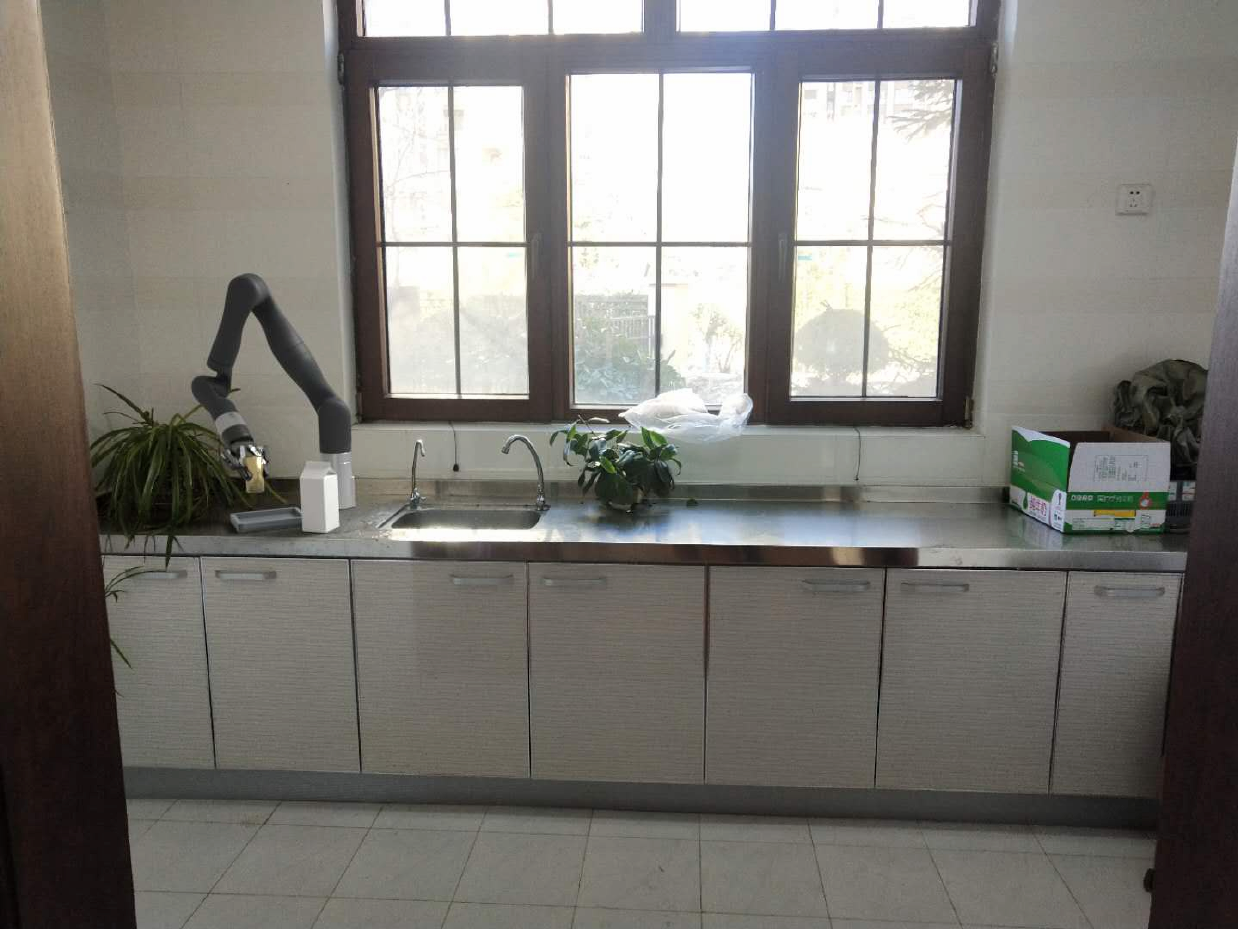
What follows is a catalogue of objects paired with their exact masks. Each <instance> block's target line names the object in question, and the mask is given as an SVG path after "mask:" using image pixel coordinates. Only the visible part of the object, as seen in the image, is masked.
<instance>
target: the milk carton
mask: <svg viewBox="0 0 1238 929" xmlns="http://www.w3.org/2000/svg"><path fill="white" fill-rule="evenodd" d="M301 472H302V473H301V474H300V477H299V489H300V490H299V491H300V510H301V513H302V526H301V528H302V532H308V533H318V534H319V533H320V534H321V533H323V534H327V533H329V532H331V531H333V530H336V529H338V528H339V527H340V513H339V507H338V484H337V474H336V473H335V471H334V470H333V469H332V468H331V467H330V462H320V461H311V460H309V461H308V460H306V461H305V466H304V469H303V470H302V471H301Z"/></svg>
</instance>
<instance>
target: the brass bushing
mask: <svg viewBox="0 0 1238 929" xmlns="http://www.w3.org/2000/svg"><path fill="white" fill-rule="evenodd" d="M260 455H261V454H260ZM260 455H251V456H246V457H245V467H247V468H248V470H249V472H250V474H251V476H252V478H251V480H250V481H246V480H245V484H246V485H245V487H246V493H248V494H257V493H258V494H260V493H264V492H265V482H264V481H265V479H264V476H263V457H262V455H261V456H260Z"/></svg>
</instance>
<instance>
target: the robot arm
mask: <svg viewBox="0 0 1238 929" xmlns="http://www.w3.org/2000/svg"><path fill="white" fill-rule="evenodd" d="M251 313H252V314H253V315H254V316H255V318H256V320H257V321H258V322H259V324H260V326H261V328H262V330H263V333H264V336H265V339H266V342H267V345H268V347H269V349H270V351H271V353H272V355H273V357H274V358H275V359H276V361H277V362H278V363H279V365H280V367H281V368H282V369H283V371H284V372H285V373H286V374H287V376H288V377H289V378H290V379H291V380H292V381H293V383H295V384H296V385H297V387H299V388H300V390H302V392H303V393H304V394H305V396H306V397H307V399H308V400H309V402H310V404H311V406H312V408H313V409H314V411H315V413H316V415H317V419H318V420H317V421H318V448H319V449H318V450H319V462H330V467H331V468H332V469H333V470H334V471H335V473H336V474H337V484H338V507H339V509H340V510H347V509H351V508H355V506H356V486H355V484H356V483H355V482H356V481H355V476H354V475H353V459H352V438H353V437H352V415H351V410H350V408H349V406H348V405H347V403H346V402H345V401H344V400H343V399H342V398H341V397H340V396H339V394H337V392H336V391H335V390H334V389H333V387H331V385H330V384H329V383H328V381H327V380H326V378H325V376H324V374H323V372H322V370H321V368H320V366H319V364H318V363H317V361H316V359H315V357H314V355H313V354H312V352H311V350H310V349H309V347H308V346H307V345H306V343H305V342H304V341H303V339H302V338H301V336H300V334H298V332H297V331H296V329H295V328H294V327H293V325H292V323H291V322H290V321H289V320H288V318H287V317H286V315H285V314H284V313H283V311H282V310H281V308H280V307H279V305H278V303H277V301H276V299H275V297H274V295H273V293H272V291H271V290H270V287H269V286H268V285H267V282H266V281H265V280H264V279H263V278H262V277H260V276H259V275H258V274H255V273H252V272H246V273H243V274H241V275H237V276H235V277H233V278H232V279H231V280H230V281H229V282H228V285H227V289H226V294H225V300H224V308H223V313H222V315H221V316H222V317H221V319H220V320H221V321H220V323H219V326H218V330H217V332H216V334H215V335H216V336H215V338H214V341H213V343H212V346H211V348H210V351H209V355H208V357H207V360H206V366H207V368H209V369H210V370H211V371H213V372H215V373H216V375H215V376H212V375H197V376H195V377H194V378H193V379H192V381H191V384H190V389H191V393H192V395H193V397H194V398H195V400H196V401H197V402H198V403H199V405H200V406H202V407H203V408H204V409H205V411H206V412H208V413H209V415H210V417H211V419H212V420H213V423H214V424H215V427H216V430H217V432H218V434H219V436H220V438H221V439H222V441H223V443H224V446H225V447H226V449H222V451H221V453H220V455H219V458H220V459H221V460H222V461H223V462H224V463H225V464H226V466H228V467H229V469H230V470H232V471H234V472H235V471H239V472H240V474H241V476H242V477H243V479H244V480H245V482H246V481H250V480H251V478H252V476H251V474H250V472H249V470H248V468H247V467H245V457H246V456H251V455H260V456H262V457H263V476H264V480H266V479H268V478H269V476H270V475H271V474H270V469H269V468H268V466H269V463H270V462H271V455H270V449H269V446H268V445H267V444H264V445H263V446H260V445H259V446H258V444H257V443H255V441H254V437H253V435H252V433H251V431H250V429H249V428H248V425H247V424H246V422H245V420H244V419H243V417H242V416H241V415H240V413H239V411H238V409H237V407H236V405H235V403H234V402H233V401H232V400H231V399H228V397H229V396H230V394H231V391H232V379H233V368H234V365H235V364H236V359H237V358H238V355H239V352H240V349H241V343H242V337H243V332H244V331H243V330H244V328H245V324H246V323H247V320H248V317H249V316H250V314H251Z"/></svg>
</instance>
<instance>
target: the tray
mask: <svg viewBox="0 0 1238 929" xmlns="http://www.w3.org/2000/svg"><path fill="white" fill-rule="evenodd" d="M229 516H230V523H231V524H232V526H233V528H236V529H235V530H236V531H237V533H238V534H247V533H246V532H248V533H254V532H253V531H257V532H261V531H260V530H266V531H269V530H268V529H274V530H279V529H278V528H283V529H290V528H291V529H292V528H299V527H302V513H301V508H299V507H298V506H291V507H283V508H282V507H281V508H273V509H263V510H261V509H260V510H255V511H254V510H253V511H243V512H235V513H234V512H233V513H230V515H229Z"/></svg>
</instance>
